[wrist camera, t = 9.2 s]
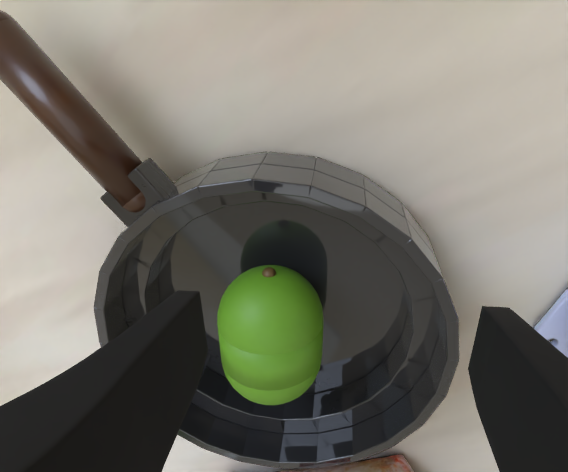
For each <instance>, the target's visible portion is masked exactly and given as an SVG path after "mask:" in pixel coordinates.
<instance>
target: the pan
mask: <svg viewBox="0 0 568 472" xmlns="http://www.w3.org/2000/svg"><path fill="white" fill-rule="evenodd" d="M174 185H175V186H176V188H175V189H174V190H173V191H172V192H171V193H170V194H169V195H168V196H167V197H166V198H165V199H163V200H161V201H159V202H157V203H155V204H153V205H152V206H151V207H150V208H149V209H148V210H147V211H145V212H144V213H143V214H142V215H141V216H140V217H139V218H138V219H136V220H135V221H134V222H133V223H132V224H131V225H130V226H129V227H127V228H126V229H125V230H124V231H123V232H122V233H121V234H120V235H119V236H118V238H117V240H116V241H115V243H114V245H113V247H112V249H111V250H110V252H109V254H108V256H107V258H106V260H105V261H104V263H103V265H102V267H101V269H100V271H99V277H98V283H97V290H96V296H95V302H94V313H95V319H96V325H97V331H98V337H99V343H100V345H101V347H103V346H104V345H106V344H107V343H108V342H110V341H111V340H113V339H114V338H116V337H117V336H119V335H120V334H121V333H123V332H124V331H125V330H127V329H128V328H129V327H131V326H132V325H133V324H134V323H136V322H137V321H138V320H140V319H141V318H142V317H144V316H145V315H146V314H147V313H149V312H150V311H151V310H153V309H154V308H155V307H156V306H158V305H159V304H160V303H162V302H163V301H164V300H165V299H167V298H168V297H169V296H171V295H172V294H173V293H175V292H176V291H178V290H181V291H200V297H201V304H202V311H203V318H204V325H205V332H206V339H207V346H208V353H207V356H206V360H205V364H204V367H203V371H202V374H201V378H200V381H199V384H198V387H197V389H196V392H195V394H194V396H193V399H192V401H191V404H190V406H189V408H188V411H187V413H186V415H185V418H184V420H183V422H182V424H181V427H180V429H179V431H178V434H177V435H179V436H181V437H183V438H185V439H186V440H188V441H190V442H192V443H194V444H195V445H197V446H199V447H201V448H204V449H205V450H208V451H211V452H214V453H217V454H220V455H223V456H226V457H229V458H232V459H234V460H237V461H241V462H246V463H252V464H257V465H263V466H269V467H275V468H323V467H329V466H334V465H340V464H345V463H350V462H356V461H359V460H362V459H364V458H367V457H369V456H372V455H374V454H377V453H379V452H381V451H384V450H386V449H389V448H391V447H392V446H395V445H396V444H398V443H399V442H400V441H402V440H403V439H405V438H406V437H407V436H409V435H410V434H412V433H413V432H414V431H416V430H417V429H419V428H420V427H421V426H423V424H425V422H426V421H427V420H428V419H429V417H430V416H431V415H432V413H433V412H434V411H435V410H436V408H437V407H438V406H439V405H440V403H441V402H442V401H443V400H444V398H445V397H446V395H447V393H448V390H449V387H450V384H451V381H452V379H453V376H454V373H455V370H456V367H457V365H458V362H459V320H458V316H457V313H456V310H455V308H454V305H453V302H452V300H451V297H450V294H449V291H448V289H447V286H446V283H445V281H444V278H443V275H442V272H441V270H440V267H439V264H438V262H437V259H436V256H435V254H434V251H433V248H432V246H431V243H430V240H429V238H428V236H427V234H426V233H425V232H424V231H423V229H422V228H421V227H420V225H419V224H418V223H417V222H416V220H415V219H414V218H413V216H412V215H411V214H410V213H409V211H408V210H407V209H406V208H405V206H404V205H403V204H402V203H401V202H400V201H399V200H398V199H396V198H395V197H393V196H392V195H391V194H389V193H388V192H386V191H385V190H384V189H382V188H381V187H380V186H378V185H377V184H375V183H374V182H373V181H371V180H370V179H369V178H367V177H366V176H364V175H362V174H361V173H358V172H356V171H353V170H350V169H348V168H345V167H343V166H340V165H337V164H335V163H332V162H329V161H327V160H324V159H322V158H319V157H317V158H316V157H312V156H303V155H294V154H285V153H276V152H261V153H254V154H247V155H241V156H234V157H228V158H222V159H219V160H217V161H215V162H212V163H210V164H208V165H206V166H204V167H201V168H199V169H197V170H195V171H193V172H190V173H188V174H186V175H184V176H182V177H180V178H179V179H178V180H177V181H176V182H175V183H174ZM262 265H279V266H284V267H287V268H290V269H292V270H294V271H296V272H298V273H300V274H301V275H302V276H303V277H304V278H306V279H307V280H308V281H309V282H310V283H311V285H312V286H313V287H314V289H315V290H316V292H317V294H318V296H319V299H320V302H321V304H322V310H323V321H324V322H323V349H322V360H321V365H320V370H319V372H318V374H317V376H316V378H315V380H314V382H313V384H312V385H311V386H310V387H309V388H308V389H307V390H306V391H305V393H303V394H302V395H301V396H300V397H298V398H296V399H294V400H292V401H290V402H287V403H284V404H280V405H263V404H258V403H255V402H252V401H250V400H248V399H246V398H244V397H243V396H242V395H241V394H239V393H238V392H237V391H236V390H235V389H234V388H233V387H232V385H231V384H230V382H229V381H228V379H227V377H226V375H225V373H224V370H223V366H222V362H221V353H220V344H219V334H218V325H217V315H218V309H219V305H220V301H221V298H222V296H223V294H224V292H225V291H226V289H227V287H228V286H229V285H230V284H231V283H232V282H233V281H234V280H235V279H236V278H237V277H238V276H239V275H240V274H242V273H244V272H245V271H247V270H249V269H251V268H254V267H257V266H262Z"/></svg>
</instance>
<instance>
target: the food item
mask: <svg viewBox="0 0 568 472" xmlns="http://www.w3.org/2000/svg"><path fill="white" fill-rule="evenodd" d="M278 472H414V471H413V469H412V468H411V466H410V465H409V463H408V462H407V460H406V459H405V457H404V456H403V455H393V456H389V457H384V458H376V459H370V460H365V461H361V462H354V463H348V464H344V465H334V466H329V467H323V468H313V469H300V470H283V471H278Z"/></svg>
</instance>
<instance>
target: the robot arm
mask: <svg viewBox="0 0 568 472" xmlns="http://www.w3.org/2000/svg"><path fill="white" fill-rule="evenodd" d="M550 339H554V340H552V341H551V342H549V341H548V340H550ZM207 353H208V346H207V339H206V332H205V325H204V318H203V311H202V304H201V297H200V291H181V290H178V291H176V292H175V293H173V294H172V295H171V296H169V297H168V298H167V299H165V300H164V301H163V302H162V303H160V304H159V305H158V306H156V307H155V308H154V309H153V310H151V311H150V312H149V313H147V314H146V315H145V316H144V317H142V318H141V319H140V320H138V321H137V322H136V323H134V324H133V325H132V326H131V327H129V328H128V329H127V330H125V331H124V332H123V333H121V334H120V335H119V336H117V337H116V338H114V339H113V340H111V341H110V342H108V343H107V344H106V345H104V346H103V347H101V348H100V349H98V350H97V351H96V352H94V353H93V354H91V355H90V356H88V357H87V358H85V359H84V360H82V361H81V362H79V363H78V364H76V365H74V366H73V367H71V368H70V369H68V370H66V371H65V372H63V373H61V374H60V375H58V376H56V377H54V378H53V379H51V380H49V381H48V382H46V383H44V384H42V385H41V386H39V387H37V388H35V389H33V390H31V391H29V392H27V393H25V394H23V395H21V396H19V397H17V398H15V399H14V400H12V401H10V402H8V403H6V404H4V405H2V406H0V472H162V469H163V467H164V464H165V461H166V459H167V457H168V455H169V452H170V450H171V448H172V445H173V443H174V441H175V438H176V436H177V434H178V431H179V429H180V427H181V424H182V422H183V420H184V418H185V415H186V413H187V411H188V408H189V406H190V404H191V401H192V399H193V396H194V394H195V392H196V389H197V387H198V384H199V381H200V378H201V374H202V371H203V367H204V364H205V360H206V356H207ZM468 370H469V375H470V380H471V385H472V390H473V394H474V398H475V402H476V407H477V410H478V413H479V416H480V418H481V421H482V424H483V427H484V430H485V433H486V435H487V438H488V441H489V444H490V446H491V449H492V452H493V455H494V457H495V460H496V463H497V466H498V468H499V471H500V472H568V288H567V289H566V290H565V292H564V293H563V294H562V295H561V296H560V298H559V299H558V300H557V301H556V302H555V303H554V305H553V306H552V307H551V308H550V309H549V311H548V312H547V313H546V314H545V315H544V317H543V318H542V319H541V320H540V321H539V322H538V324H537V325H536V326H535V327H534V328H532V327H531V326H530V325H529V324H528V323H527V322H525V321H524V320H523V319H522V318H521V317H520V316H518V315H517V314H516V313H515V312H513V311H512V310H511V309H510V308H506V307H487V306H482V310H481V314H480V319H479V323H478V328H477V332H476V336H475V341H474V345H473V350H472V354H471V359H470V363H469V367H468Z"/></svg>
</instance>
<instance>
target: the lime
mask: <svg viewBox="0 0 568 472" xmlns="http://www.w3.org/2000/svg"><path fill="white" fill-rule="evenodd" d="M323 322H324V321H323V310H322V304H321V302H320V299H319V296H318V294H317V292H316V290H315V289H314V287H313V286H312V285H311V283H310V282H309V281H308V280H307V279H306V278H304V277H303V276H302V275H301V274H300V273H298V272H296V271H294V270H292V269H290V268H287V267H284V266H279V265H262V266H257V267H254V268H251V269H249V270H247V271H245V272H244V273H242V274H240V275H239V276H238V277H237V278H236V279H235V280H234V281H233V282H232V283H231V284H230V285H229V286H228V287H227V289H226V291H225V292H224V294H223V296H222V298H221V301H220V305H219V309H218V315H217V325H218V334H219V344H220V353H221V362H222V366H223V370H224V373H225V375H226V377H227V379H228V381H229V382H230V384H231V385H232V387H233V388H234V389H235V390H236V391H237V392H238V393H239V394H241V395H242V396H243V397H244V398H246V399H248V400H250V401H252V402H255V403H258V404H263V405H280V404H284V403H287V402H290V401H292V400H294V399H296V398H298V397H300V396H301V395H302V394H303V393H305V391H306V390H307V389H308V388H309V387H310V386H311V385H312V384H313V382H314V380H315V378H316V376H317V374H318V372H319V370H320V365H321V360H322V349H323Z"/></svg>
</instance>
